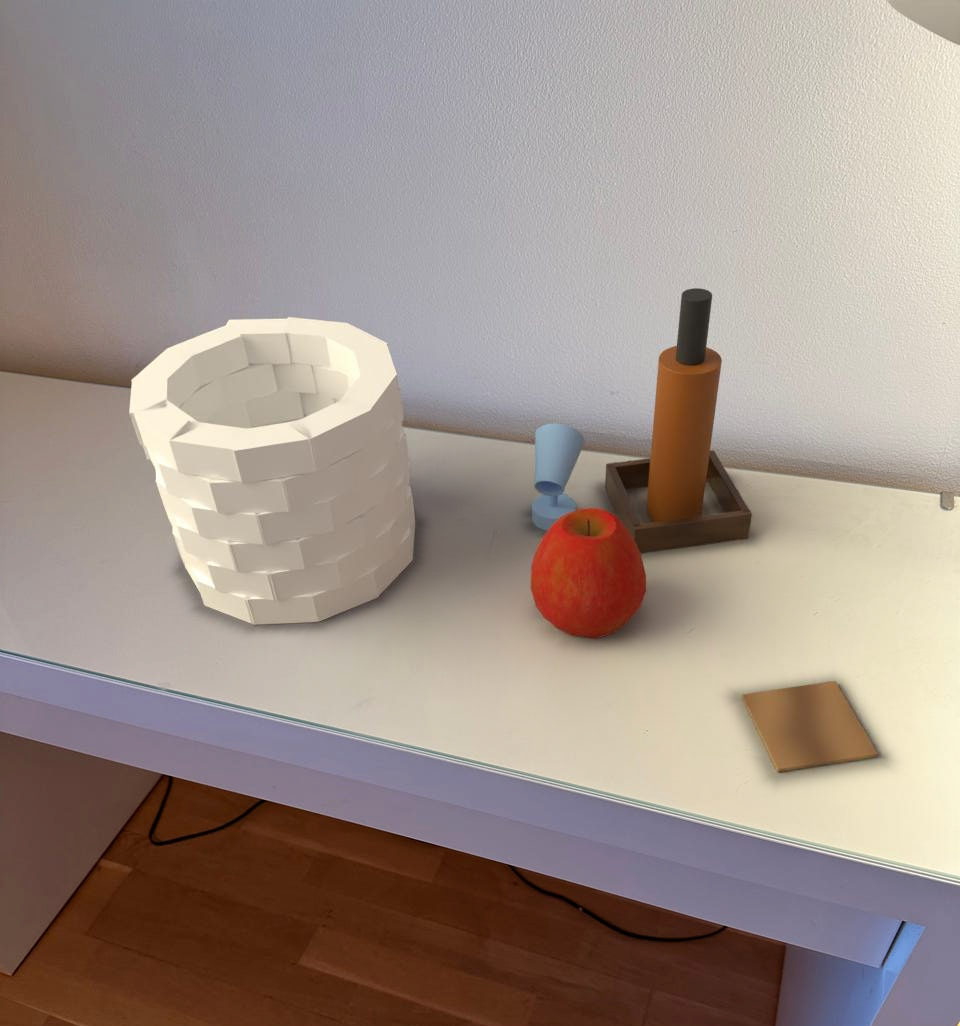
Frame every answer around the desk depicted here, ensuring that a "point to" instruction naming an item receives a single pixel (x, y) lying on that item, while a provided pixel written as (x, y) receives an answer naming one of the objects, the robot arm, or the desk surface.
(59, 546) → the desk surface
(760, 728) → the coaster
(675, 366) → the bottle
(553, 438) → the spotlight
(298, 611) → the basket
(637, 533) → the square frame
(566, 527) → the apple
